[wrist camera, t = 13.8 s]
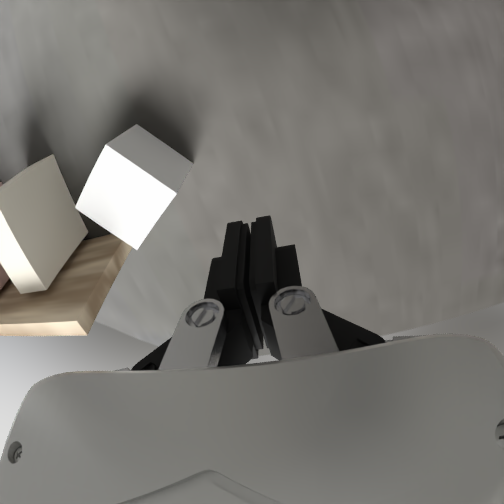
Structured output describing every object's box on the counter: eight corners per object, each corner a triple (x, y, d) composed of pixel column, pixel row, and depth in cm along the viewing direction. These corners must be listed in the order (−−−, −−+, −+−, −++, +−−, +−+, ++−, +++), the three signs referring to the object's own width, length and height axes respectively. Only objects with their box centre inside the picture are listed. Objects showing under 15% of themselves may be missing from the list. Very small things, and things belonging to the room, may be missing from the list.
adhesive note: (137, 123, 23) (105, 143, 18) (194, 163, 25) (177, 192, 20) (105, 177, 26) (74, 208, 21) (157, 212, 28) (137, 250, 23)
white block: (28, 166, 24) (-29, 209, 17) (53, 153, 24) (-7, 196, 17) (62, 239, 30) (20, 294, 22) (88, 232, 29) (46, 289, 22)
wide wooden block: (-32, 194, 26) (-92, 248, 16) (88, 127, 23) (-3, 184, 13) (8, 270, 33) (-37, 333, 23) (135, 242, 29) (87, 335, 20)
